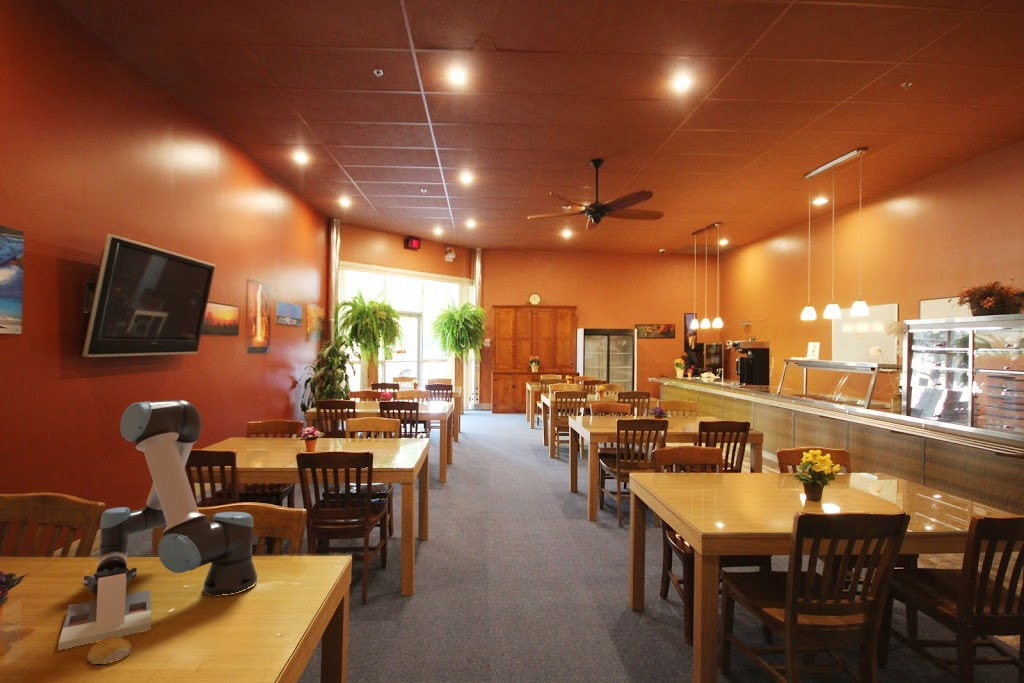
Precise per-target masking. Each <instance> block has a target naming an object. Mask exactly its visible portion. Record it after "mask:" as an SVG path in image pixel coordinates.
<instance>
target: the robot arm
mask: <svg viewBox="0 0 1024 683" xmlns="http://www.w3.org/2000/svg"><path fill="white" fill-rule="evenodd" d="M202 420H203V418H202V415H201V413H200V411H199V410H198V408H197V407H196V406H195V405H194V404H193V403H192V402H189V401H187V400H185V399H168V400H153V401H152V400H150V401H149V400H145V401H144V400H143V401H140V402H133V403H131V404H130V405H128V406H127V407H126V408H125V410H124V412H122V415H121V418H120V422H119V424H120V425H119V428H120V429H119V430H120V433H121V436H122V439H125V441H126V442H133V443H134V446H135V449H136V450H137V451H140V452H143V454H144V457H145V460H146V463H147V467H148V470H149V472H150V477H151V479H152V482H153V483H152V485H151V489H150V490H149V494H148V497H147V500H146V503H145V505H144V507H143V508H139V509H135V510H130V508H129V507H126V506H123V507H121V506H120V507H119V506H118V507H113V508H108V509H106V510H105V511H102V514H101V518H100V526H99V527H100V530H99V531H100V533H99V534H100V536H99V537H100V538H99V541H100V542H99V550H98V563H97V566H96V567H97V568H96V572H95V573H94V574H92V575H85V576H83V586H85V587H87V588H88V590H89V591H90V592H91V594H92V595H97V593H98V578H103V577H108V576H113V575H119V574H124V573H126V587H127V586H128V585H129V584H130V582H131V581H132V580H133V579H134V578H136V577H137V573H138V572H137V570H138V569H137V567H132V568H131V569H129V568H128V557H129V539H130V536H131V535H136V534H139V533H142V532H145V531H149V530H152V529H153V530H154V529H156V528H161V527H163V526H165V527H164V529H163V531H162V535H163V537H162V538H161V539H160V540H159V543H158V551H157V552H158V557H159V559H160V561H161V562H160V563H161V564H162V565H163V566H164V568H166V570H168V571H170V572H172V573H174V574H183V573H185V572H188V571H189V572H190V571H191V572H192V571H194V570H195V569H198V568H200V567H202V566H205V565H207V564H210V566H209V569H208V572H207V574H206V576H205V579H204V582H203V592H205V593H204V594H206V593H207V594H206V595H208V594H211V595H222V594H231V593H236V592H239V591H242V590H244V589H247V588H248V587H250V586H252V585H253V584H254V583H255V582H256V581H257V582H258V573H257V570H256V568H255V565H254V561H253V540H254V537H253V536H254V517H253V515H252V514H250V513H248V512H244V511H223V512H217V513H215V514H213V516H212V519H211V520H212V521H209V520H208V517H207V514H204V513H201V512H200V511H199V508H198V506H197V502H196V499H195V497H194V493H193V490H192V488H191V484H190V482H189V478H188V475H187V472H186V469H185V467H186V465H187V462H188V459H189V456H190V454H191V451H192V448H193V447H194V446H193V445H194V444H195V443H197V442H198V441H199V438H200V435H201V433H202V426H203V423H202V422H203V421H202ZM211 595H210V596H211Z"/></svg>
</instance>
